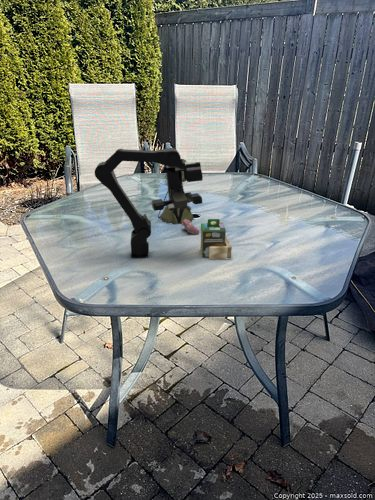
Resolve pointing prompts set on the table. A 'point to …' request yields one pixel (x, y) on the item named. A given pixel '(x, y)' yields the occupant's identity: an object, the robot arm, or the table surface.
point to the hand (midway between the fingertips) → (179, 223)
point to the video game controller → (189, 227)
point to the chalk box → (212, 235)
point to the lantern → (168, 214)
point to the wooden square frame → (220, 251)
